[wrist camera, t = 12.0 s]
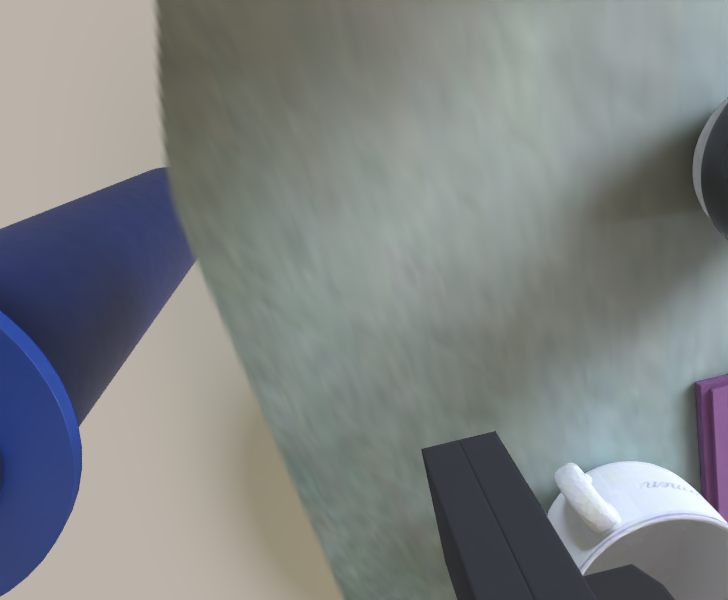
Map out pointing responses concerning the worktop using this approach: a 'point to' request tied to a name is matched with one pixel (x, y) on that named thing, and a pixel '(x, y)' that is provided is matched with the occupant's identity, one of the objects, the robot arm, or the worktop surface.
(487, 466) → the robot arm
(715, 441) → the purple flat block
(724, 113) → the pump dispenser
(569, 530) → the teacup
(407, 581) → the worktop surface
